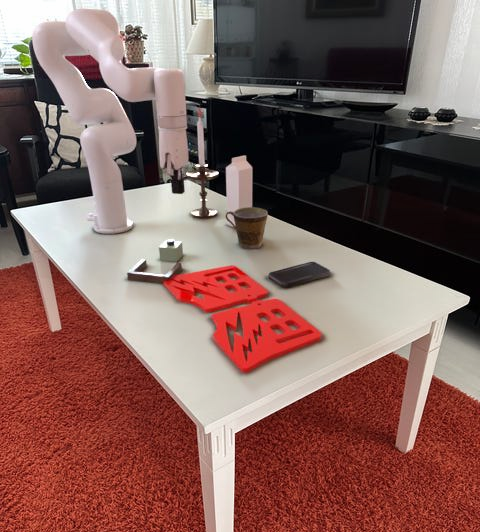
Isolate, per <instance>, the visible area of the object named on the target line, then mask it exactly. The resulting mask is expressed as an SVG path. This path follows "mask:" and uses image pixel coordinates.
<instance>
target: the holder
mask: <svg viewBox="0 0 480 532" xmlns="http://www.w3.org/2000/svg"><path fill="white" fill-rule="evenodd" d="M147 263H148V262H147V259H146V258H141V259H140V260H139V261H138V262H137V263H136V264H135V265H133V267H132V268H130V269H129V271H127V273H126V274H127V276H126V277H127V280H128V281H136V282H146V283H153V284H161V285H164V284H163V281H170V279H171V278H172V277H173V276H174V275H180V272H181V271H182V270H183V265H182V262H178V261H177V262H175V264H174V266H173V267H171V268H170V270H169V271H168V272H167V273H166V274H163V273H162V274H160V273H152V272H143V270H145V269H146V267H147V266H148V264H147Z"/></svg>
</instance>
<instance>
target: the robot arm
mask: <svg viewBox="0 0 480 532" xmlns="http://www.w3.org/2000/svg"><path fill="white" fill-rule="evenodd" d="M65 19H66V20H65V21H61V20H60V21H58V20H57V21H56V20H53V21H52V20H51V21H43V22H41V23H38V24H37V25H36V26H35V27H34V29H33V31H32V36H31V37H32V39H31V41H32V46H33V51H34V55H35V57H36V59H37V61H38V63H39V65H40V66H41V69H42V70H43V71H44V72H45V74H46V75H47V76H48V78H49V79H50V81H51V82H52V84H53V85H54V87H55V89H56V91H57V93H58V95H59V97H60V99H61V100H62V102H63V104H64V106H65V108H66V110H67V111H68V112H67V113H68V114H69V115H70V117H71V119H72V120H73V122H75V123H76V124H77V125H81V126H85V125H86V126H87V125H88V127H86V128H85V129H83V130H82V132H81V134H80V139H79V141H80V146H81V149H82V153H83V155H84V157H85V161H86V164H87V168H88V174H89V181H90V185H91V191H92V197H93V203H94V210H95V213H93V212H88V213H87V215H86V220H87V221H88V222H94V224H93V226H92V227H93V230H94V231H95V232H96V233H99V234H106V235H111V234H113V235H114V234H119V233H120V234H121V233H124V232H127V231H130V230H131V229H132V228H133V226H134V224H133V221H131V220H130V219H129V218H128V214H127V208H126V200H125V199H126V198H125V193H124V192H125V191H124V186H123V185H124V184H123V178H122V172H121V169H120V166H118V164H117V163H116V162H115V160H114V158H115V157H118V156H122V155H127V154H129V153H131V152H133V151H134V150H135V148H136V147H137V135H136V132H135V130H134V127H133V125H132V123H131V121H130V119H129V117H128V116H127V113H126V111H125V109H124V108H123V106H122V103H121V102H120V100H119V98H118V97H120V98H121V99H122V100H124V101H127V102H130V103H137V102H144V101H155V106H156V117H157V126H158V130H159V131H158V132H159V133H158V150H159V151H158V153H159V166H160V169H161V170H166V175H167V176H169V180H170V187H171V193H172V194H173V195H183V194H184V193H185V168H186V165H188V163H189V146H188V137H187V131H186V130H187V129H188V117H187V102H186V88H185V86H186V85H185V76H184V72H183V71H182V70H181V69H179V68H160V67H135V68H134V67H133V68H129V67H127V66H126V65H124V63H122V61H123V58H124V56H125V52H126V45H125V43H124V41H123V39H122V37H121V36H120V33H121V32H120V31H121V30H120V24H119V22H118V21H117V19H116V17H115V16H114V14H112V13H111V12H110V11H108V10H105V9H99V8H98V9H96V8H76V9H73V10H72V11H70V12H69V13H68V15H67V16H66V18H65ZM89 55H90V56H91V57H92V58H93V59H94V60H95V61H96V62H97V63H98V64H99V65H98V67H99V71H100V74H101V77H102V79H103V82H104V84H106V86H107V87H108V88H109V89H108V88H104V87H98V88H92V87H90V86H88V84H87V83H86V81H85V78H84V77H83V75H82V73H81V72H80V70H79V69H78V67H76V66H75V65H74V64H73V63H72V62H70V61H69V60H68V59H66V57H76V56H79V57H80V56H89ZM111 90H112V91H111ZM116 95H117V96H116Z"/></svg>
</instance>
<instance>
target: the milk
mask: <svg viewBox="0 0 480 532" xmlns="http://www.w3.org/2000/svg"><path fill="white" fill-rule="evenodd" d="M225 183H226V184H225V185H226V186H225V189H226V190H225V191H226V213H227V212H230V211H231V212H234V211H235V210H237V209H240V208H246V207H253V166H252V165H251V164H250V163H249V162H248V161H247V155H240V156H236V157H232V158H231V163H230V164H229V165H227V166H226V167H225ZM227 217H228V219H229V220H230V221H231V222H232V223H233V224H234V225H235V221H234V216H233V215H231V214H228V215H227ZM226 225H227V226H229V227H231V228H234V227H233V225H232V224H231V223H230V222H229V221H228V220H227V219H226Z"/></svg>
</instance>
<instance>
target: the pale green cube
mask: <svg viewBox="0 0 480 532" xmlns="http://www.w3.org/2000/svg"><path fill="white" fill-rule="evenodd" d="M158 252H159V261H165V262H175V263H177V262H178V261H179V260H180V259H181V258H182V257H183V256H184V250H183V242H182V241H175V239H174V238H168V239H166V240H164V242H163V243H161V244H160V245H159V246H158Z"/></svg>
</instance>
